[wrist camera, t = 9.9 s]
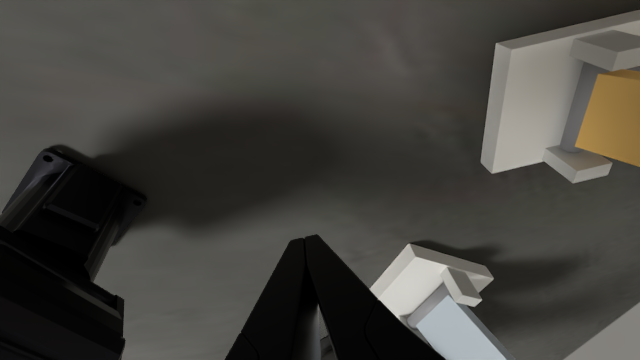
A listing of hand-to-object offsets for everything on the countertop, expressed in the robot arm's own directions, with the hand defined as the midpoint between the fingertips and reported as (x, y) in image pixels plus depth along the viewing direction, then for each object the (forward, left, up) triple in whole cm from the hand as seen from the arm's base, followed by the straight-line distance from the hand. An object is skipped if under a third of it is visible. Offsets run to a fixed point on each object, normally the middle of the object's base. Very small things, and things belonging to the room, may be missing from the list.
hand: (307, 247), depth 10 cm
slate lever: (-6, -24, -11) cm, 27 cm away
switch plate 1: (-6, -24, -13) cm, 28 cm away
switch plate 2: (+12, -14, -13) cm, 23 cm away
